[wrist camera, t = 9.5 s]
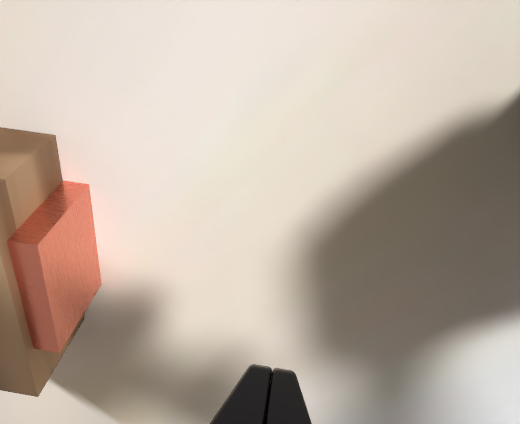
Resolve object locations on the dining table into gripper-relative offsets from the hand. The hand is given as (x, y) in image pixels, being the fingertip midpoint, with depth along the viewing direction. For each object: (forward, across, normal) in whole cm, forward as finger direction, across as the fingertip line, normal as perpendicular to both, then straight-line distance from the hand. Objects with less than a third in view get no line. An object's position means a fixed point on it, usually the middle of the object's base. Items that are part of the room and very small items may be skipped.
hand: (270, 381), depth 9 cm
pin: (+12, +14, +7) cm, 20 cm away
